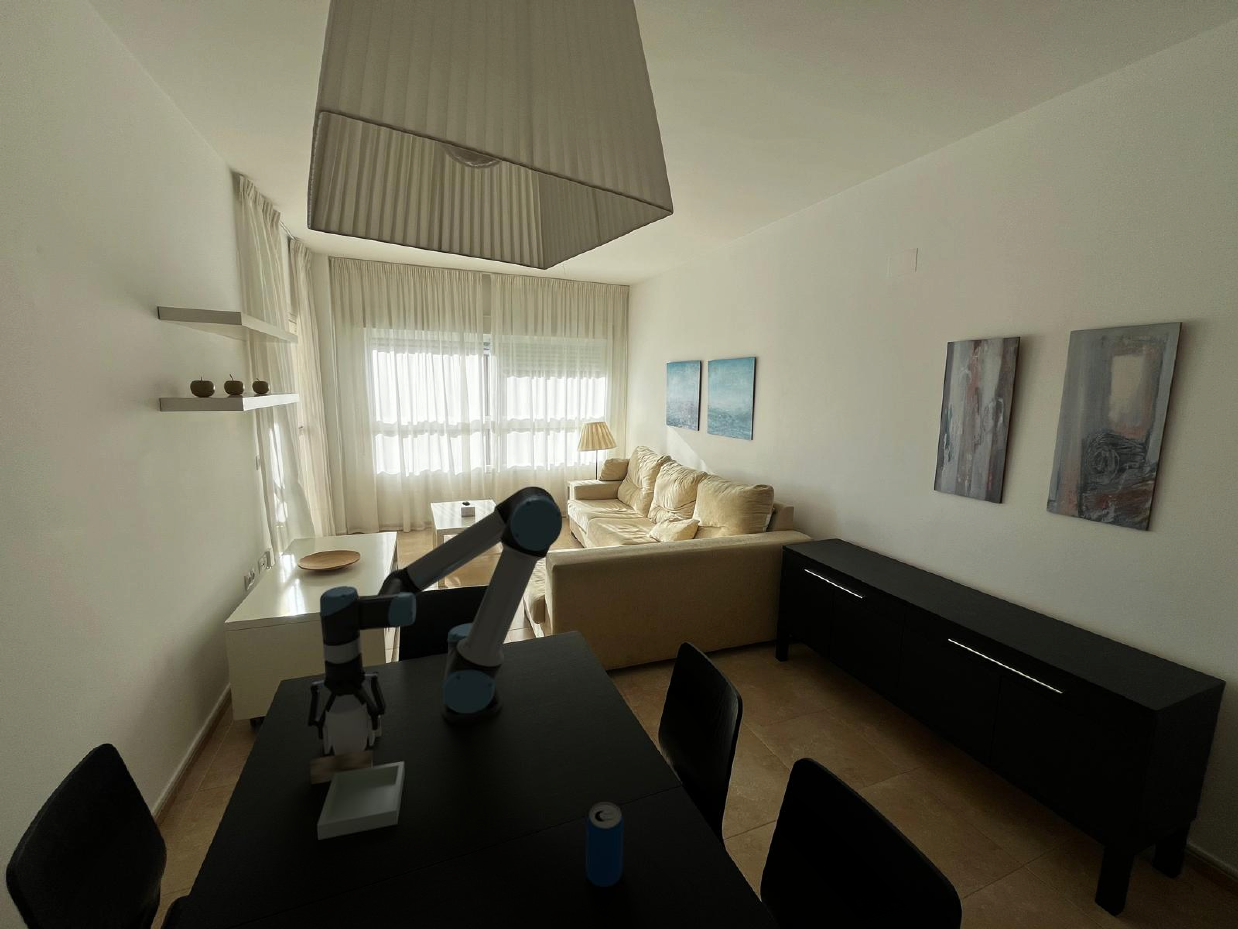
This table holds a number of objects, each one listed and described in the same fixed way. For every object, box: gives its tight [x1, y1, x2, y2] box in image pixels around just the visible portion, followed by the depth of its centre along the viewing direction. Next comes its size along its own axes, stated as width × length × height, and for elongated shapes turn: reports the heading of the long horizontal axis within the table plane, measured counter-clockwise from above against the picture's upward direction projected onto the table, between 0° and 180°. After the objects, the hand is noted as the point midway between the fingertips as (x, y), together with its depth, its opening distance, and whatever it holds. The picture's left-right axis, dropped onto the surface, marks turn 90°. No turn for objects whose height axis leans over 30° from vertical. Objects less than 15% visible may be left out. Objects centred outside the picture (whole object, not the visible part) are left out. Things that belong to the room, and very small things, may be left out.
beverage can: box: [585, 801, 624, 887], centre depth 93 cm, size 6×6×12 cm
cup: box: [325, 695, 369, 756], centre depth 120 cm, size 9×9×12 cm
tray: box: [316, 761, 406, 841], centre depth 107 cm, size 14×14×3 cm
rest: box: [309, 715, 382, 785], centre depth 121 cm, size 12×14×5 cm
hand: (350, 745), depth 121 cm, fingers closed on cup, 9 cm apart
